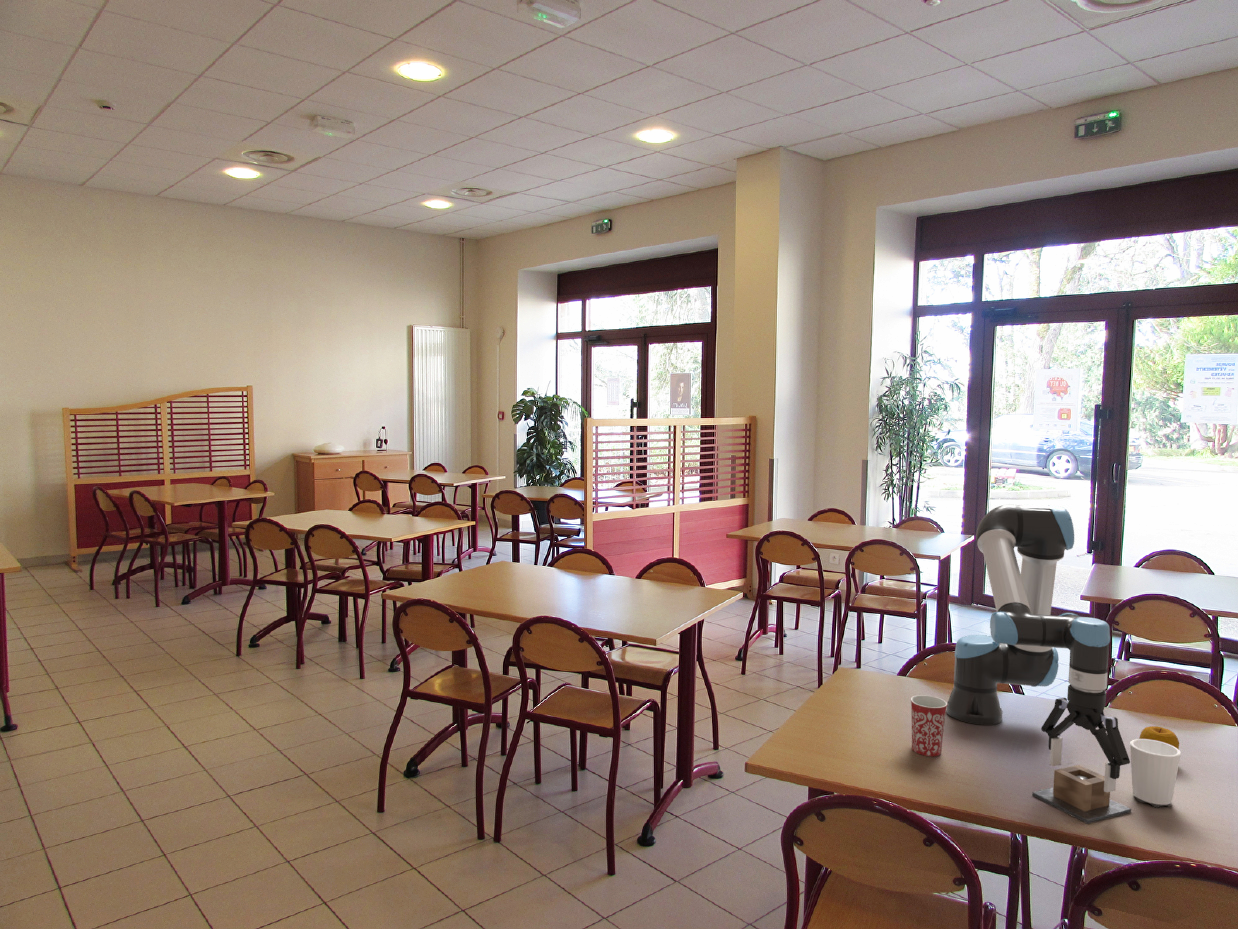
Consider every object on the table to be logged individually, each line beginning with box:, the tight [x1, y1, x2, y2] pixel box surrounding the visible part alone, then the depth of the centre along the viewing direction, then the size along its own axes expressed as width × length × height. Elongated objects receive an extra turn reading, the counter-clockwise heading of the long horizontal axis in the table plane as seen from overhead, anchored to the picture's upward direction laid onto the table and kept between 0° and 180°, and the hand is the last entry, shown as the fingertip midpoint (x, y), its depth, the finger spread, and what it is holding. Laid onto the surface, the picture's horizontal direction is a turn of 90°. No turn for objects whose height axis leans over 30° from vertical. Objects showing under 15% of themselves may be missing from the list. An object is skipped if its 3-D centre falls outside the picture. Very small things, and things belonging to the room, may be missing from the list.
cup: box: [1129, 738, 1182, 808], centre depth 188 cm, size 10×10×13 cm
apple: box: [1138, 725, 1180, 750], centre depth 209 cm, size 8×8×9 cm
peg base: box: [1032, 776, 1132, 825], centre depth 186 cm, size 14×14×6 cm
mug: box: [910, 694, 948, 757], centre depth 215 cm, size 13×9×14 cm
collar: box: [1053, 764, 1111, 811], centre depth 186 cm, size 8×8×6 cm
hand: (1081, 777), depth 186 cm, fingers open, 13 cm apart
